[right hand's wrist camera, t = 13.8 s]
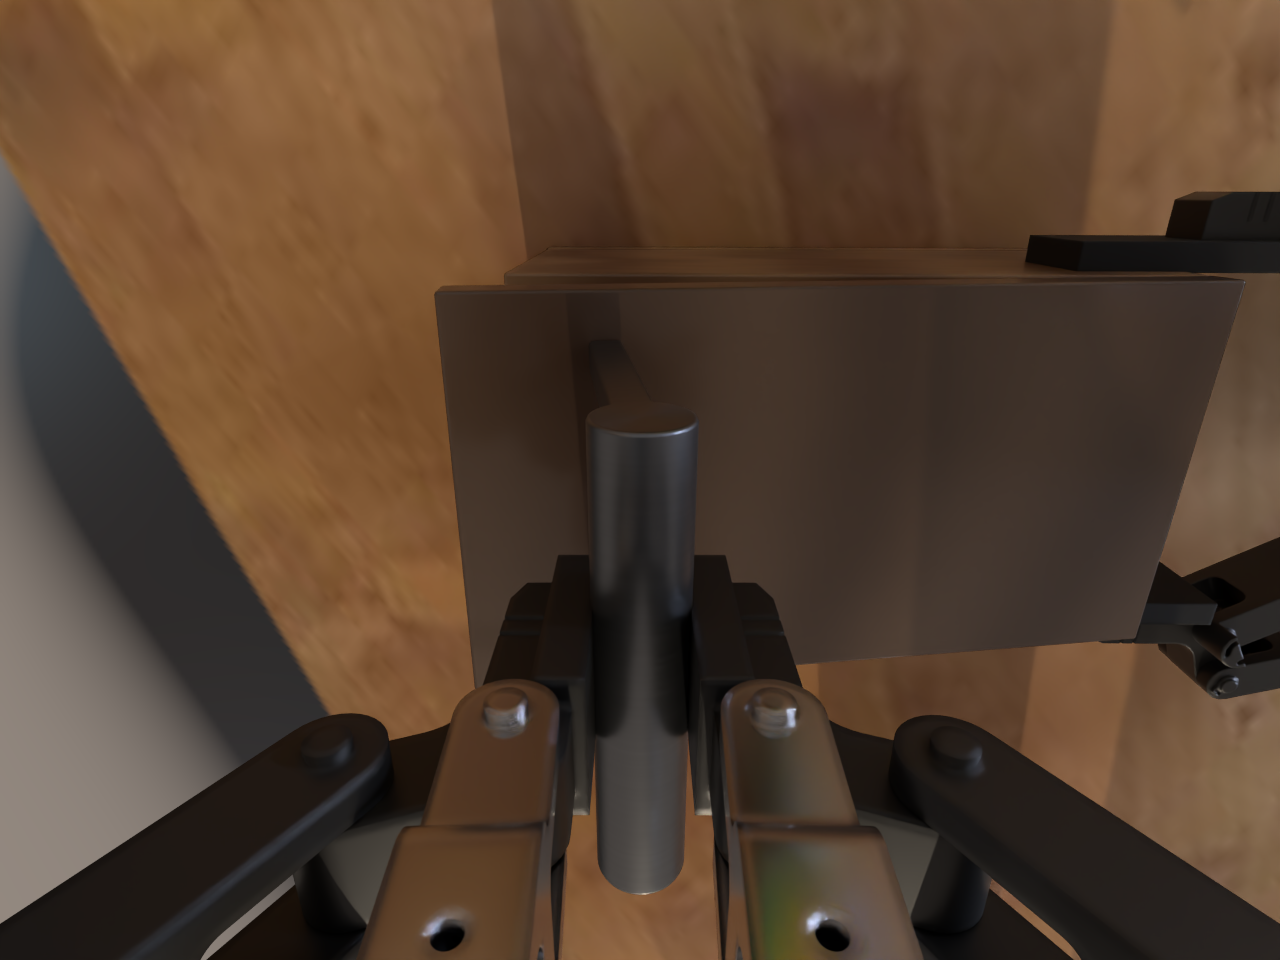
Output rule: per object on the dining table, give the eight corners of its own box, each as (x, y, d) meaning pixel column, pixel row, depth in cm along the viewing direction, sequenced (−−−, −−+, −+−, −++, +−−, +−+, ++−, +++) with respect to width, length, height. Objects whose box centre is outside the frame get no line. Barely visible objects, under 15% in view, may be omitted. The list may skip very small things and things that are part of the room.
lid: (478, 667, 19) (439, 958, 12) (439, 285, 15) (349, 369, 8) (1110, 619, 21) (1404, 841, 14) (1210, 275, 17) (1681, 334, 10)
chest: (559, 498, 29) (525, 613, 21) (549, 247, 26) (502, 271, 18) (984, 501, 29) (1112, 619, 21) (1035, 248, 25) (1212, 275, 17)
